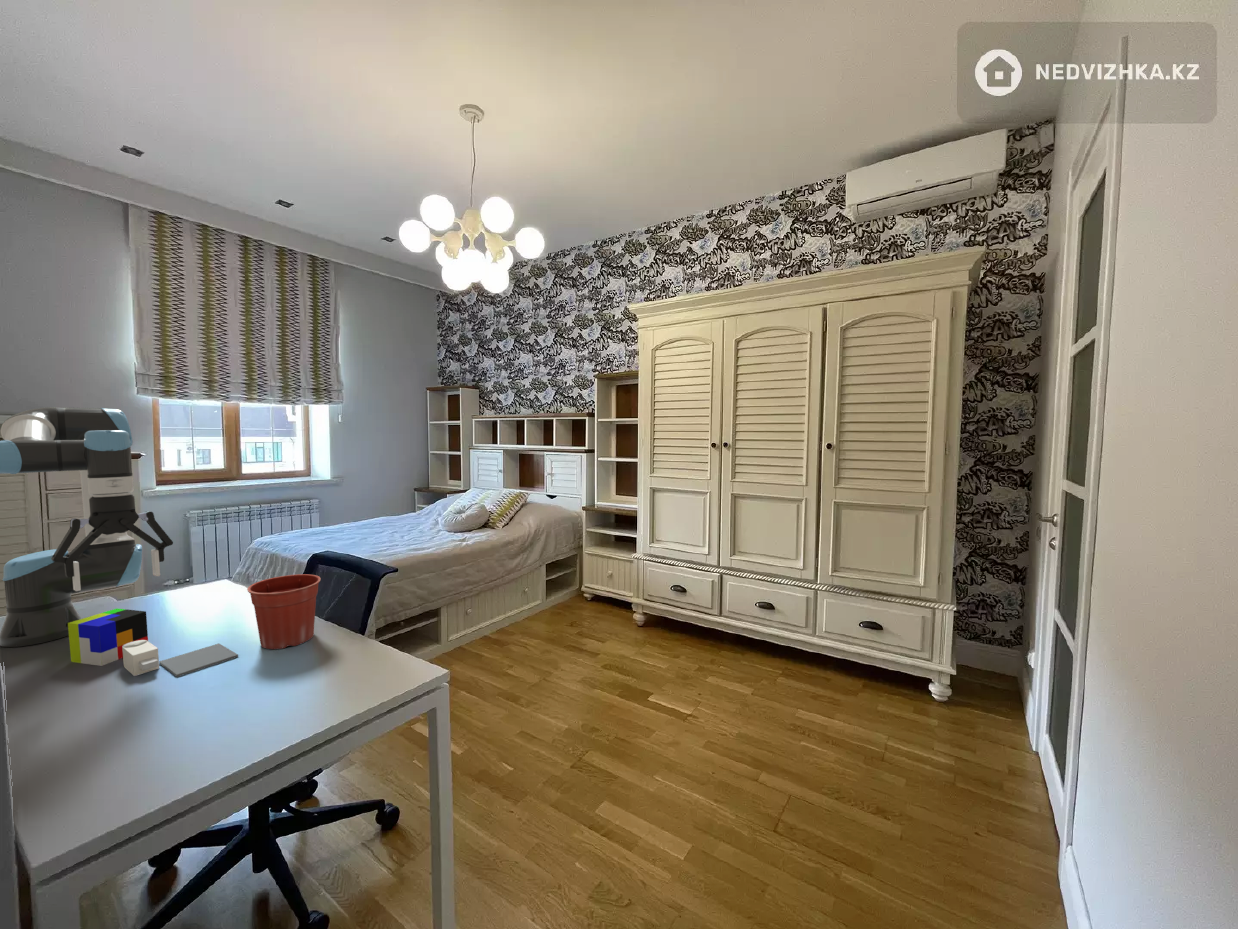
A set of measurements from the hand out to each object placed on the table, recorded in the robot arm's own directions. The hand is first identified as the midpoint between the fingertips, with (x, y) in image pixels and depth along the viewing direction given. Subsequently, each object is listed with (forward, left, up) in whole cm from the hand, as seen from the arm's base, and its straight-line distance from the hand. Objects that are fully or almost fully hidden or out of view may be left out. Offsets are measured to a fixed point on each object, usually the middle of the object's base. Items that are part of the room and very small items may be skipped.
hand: (118, 582), depth 117 cm
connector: (+5, +2, -21) cm, 21 cm away
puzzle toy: (-11, 0, -21) cm, 24 cm away
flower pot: (+17, +28, -21) cm, 39 cm away
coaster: (+12, +11, -21) cm, 26 cm away
